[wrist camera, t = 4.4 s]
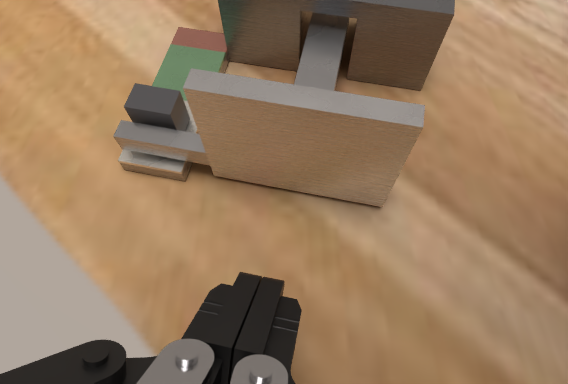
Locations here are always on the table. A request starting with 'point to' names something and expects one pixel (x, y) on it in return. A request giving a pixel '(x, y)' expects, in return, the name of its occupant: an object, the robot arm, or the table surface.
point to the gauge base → (301, 49)
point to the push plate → (291, 127)
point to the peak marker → (157, 107)
